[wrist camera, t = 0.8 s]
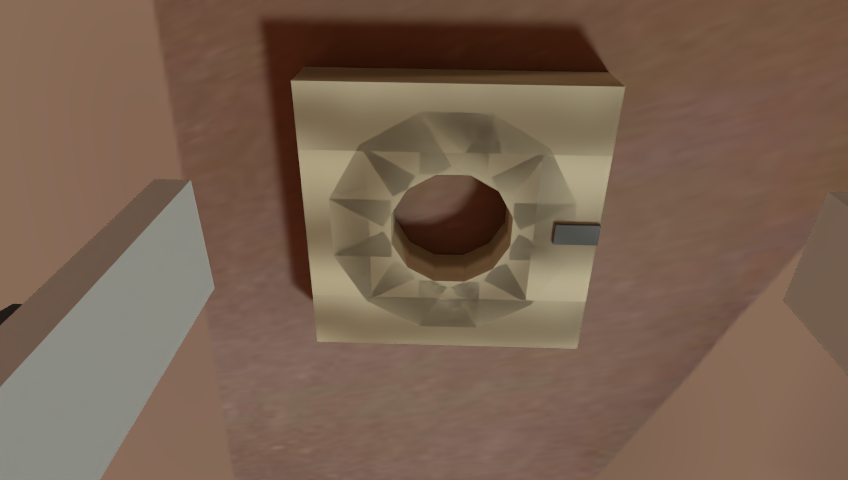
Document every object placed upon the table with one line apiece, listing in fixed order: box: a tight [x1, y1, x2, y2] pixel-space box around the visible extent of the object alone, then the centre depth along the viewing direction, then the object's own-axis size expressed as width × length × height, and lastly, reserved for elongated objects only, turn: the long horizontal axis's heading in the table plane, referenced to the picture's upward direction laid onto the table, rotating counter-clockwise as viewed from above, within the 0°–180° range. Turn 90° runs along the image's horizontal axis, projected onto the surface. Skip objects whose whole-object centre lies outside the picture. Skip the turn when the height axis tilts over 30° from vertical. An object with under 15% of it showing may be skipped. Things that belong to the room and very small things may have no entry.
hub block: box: [291, 67, 625, 349], centre depth 32 cm, size 16×16×3 cm
